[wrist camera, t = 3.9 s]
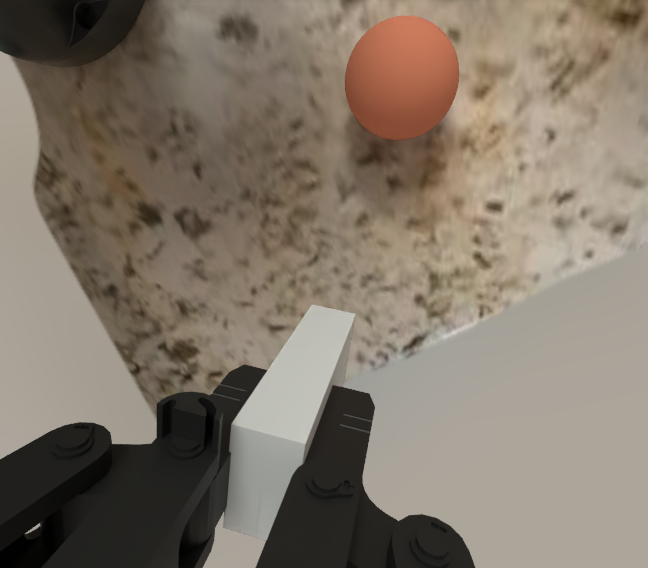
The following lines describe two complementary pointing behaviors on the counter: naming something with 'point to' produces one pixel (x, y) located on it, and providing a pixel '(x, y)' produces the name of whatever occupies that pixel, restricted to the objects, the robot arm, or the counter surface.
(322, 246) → the counter surface
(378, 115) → the ball
